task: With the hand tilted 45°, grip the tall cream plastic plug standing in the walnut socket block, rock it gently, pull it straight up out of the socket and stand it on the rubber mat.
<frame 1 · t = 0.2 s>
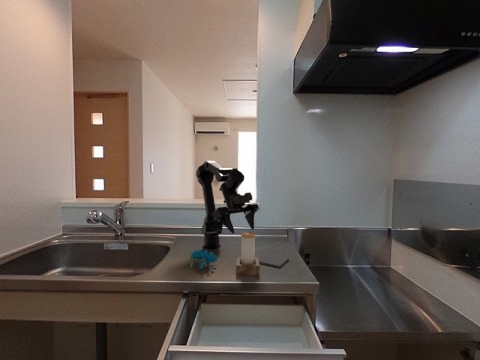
hand: (243, 231, 106), 14 cm above the counter, tool tilted 35°, fingers open, 9 cm apart
blue lumpy piece: (202, 266, 107), on the counter
plug: (247, 252, 102), in the socket block
socket block: (247, 270, 103), on the counter
mat: (272, 261, 113), on the counter
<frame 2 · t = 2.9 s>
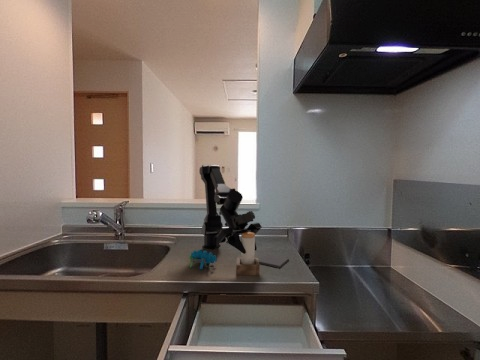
hand: (250, 251, 101), 8 cm above the counter, tool tilted 45°, fingers closed on plug, 5 cm apart
plug: (247, 252, 102), in the socket block, touching gripper
everything else where it was.
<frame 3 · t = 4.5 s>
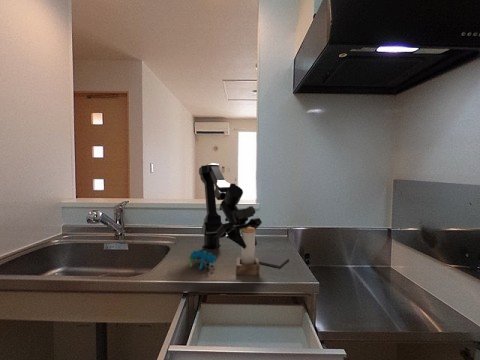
hand: (250, 246, 101), 9 cm above the counter, tool tilted 45°, fingers closed on plug, 5 cm apart
plug: (248, 247, 103), point 9 cm above the counter, touching gripper
everything else where it was.
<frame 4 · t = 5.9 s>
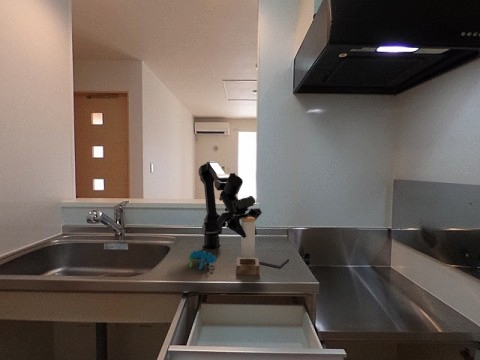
hand: (250, 236, 101), 13 cm above the counter, tool tilted 45°, fingers closed on plug, 5 cm apart
plug: (248, 236, 102), point 13 cm above the counter, touching gripper
everything else where it was.
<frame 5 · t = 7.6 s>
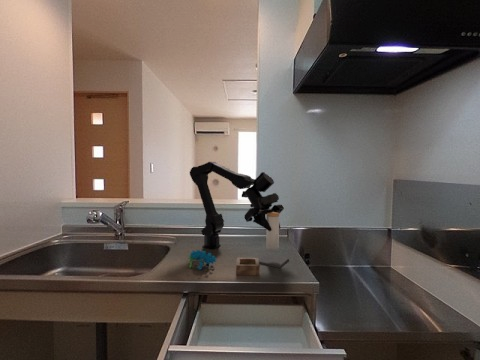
hand: (275, 229, 111), 14 cm above the counter, tool tilted 45°, fingers closed on plug, 5 cm apart
plug: (272, 230, 112), point 13 cm above the counter, touching gripper
everything else where it was.
when the fingers open (10 cm above the counter, at t = 8.9 s): plug drops 1 cm, resting on mat.
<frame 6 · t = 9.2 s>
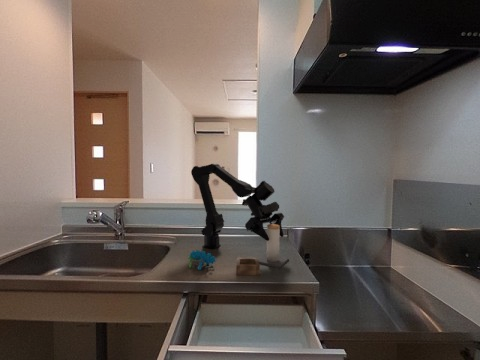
hand: (275, 238, 111), 10 cm above the counter, tool tilted 45°, fingers open, 8 cm apart
plug: (273, 242, 113), on the mat, point 8 cm above the counter
everything else where it was.
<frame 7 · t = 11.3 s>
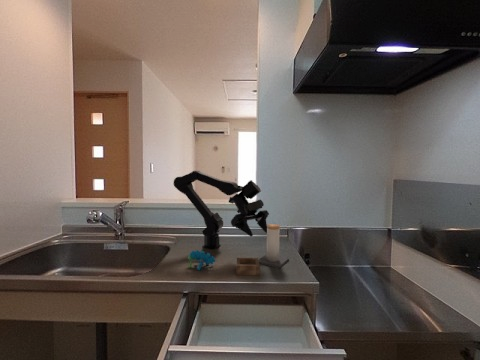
hand: (259, 234, 118), 10 cm above the counter, tool tilted 45°, fingers open, 9 cm apart
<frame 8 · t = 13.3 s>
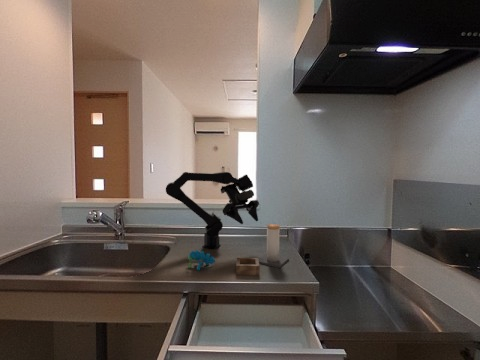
hand: (250, 222, 124), 14 cm above the counter, tool tilted 45°, fingers open, 9 cm apart
at the end: plug inside the target area on the mat (0.1 cm from its centre), point 7.8 cm above the mat's base; plug tilted 0°; the gripper is holding nothing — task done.
